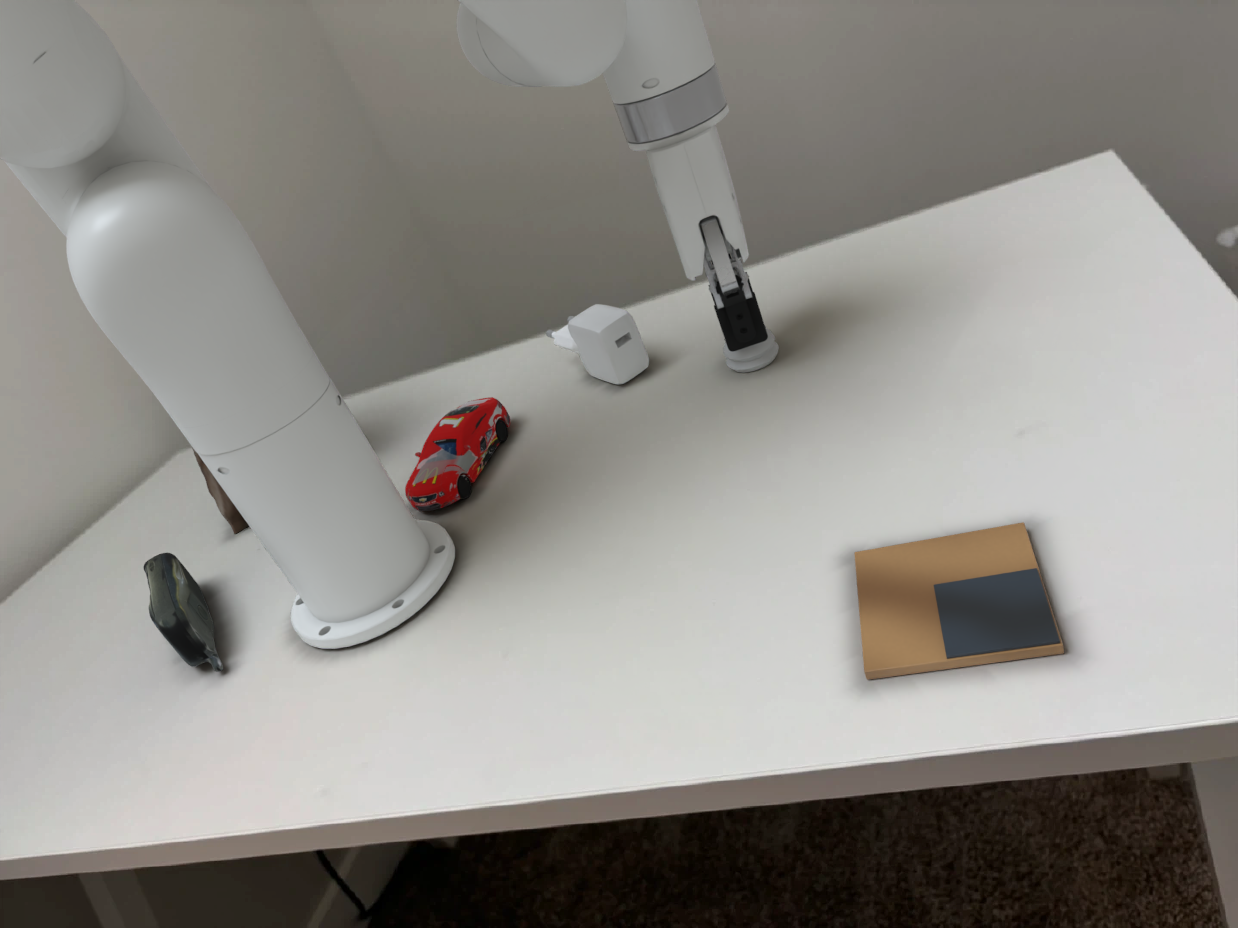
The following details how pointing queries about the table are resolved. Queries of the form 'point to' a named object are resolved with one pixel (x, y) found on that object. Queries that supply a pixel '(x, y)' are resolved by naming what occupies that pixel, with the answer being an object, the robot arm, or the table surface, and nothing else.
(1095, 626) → the table surface
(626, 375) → the power adapter
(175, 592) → the dark green oblong piece
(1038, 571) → the cork mat
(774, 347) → the rook chess piece
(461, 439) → the race car
